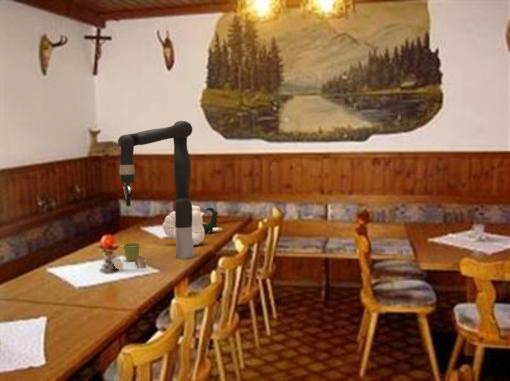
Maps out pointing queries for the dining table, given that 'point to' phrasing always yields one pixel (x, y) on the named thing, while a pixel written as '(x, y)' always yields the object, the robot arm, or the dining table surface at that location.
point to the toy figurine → (213, 222)
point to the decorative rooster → (196, 225)
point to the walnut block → (140, 262)
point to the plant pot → (131, 250)
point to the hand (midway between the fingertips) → (128, 205)
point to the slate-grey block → (118, 264)
